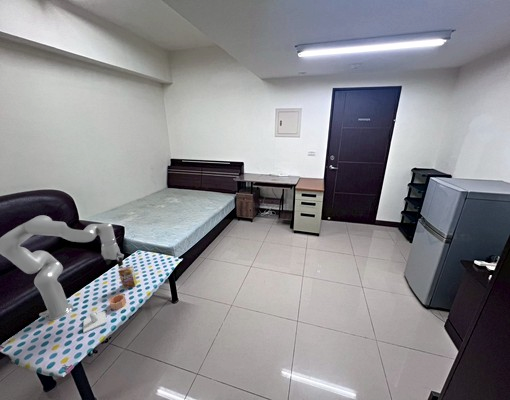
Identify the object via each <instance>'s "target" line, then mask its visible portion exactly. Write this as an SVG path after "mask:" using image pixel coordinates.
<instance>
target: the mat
mask: <svg viewBox="0 0 510 400" xmlns="http://www.w3.org/2000/svg"><path fill="white" fill-rule="evenodd" d="M106 324H107V323H105V324H103V325H101V326H99V327H96V328H94V329H92V330H90V331H87V332H85V333H84V334H87V333H88V332H91V331H93V330H95V329H98V328H100V327H102V326H105V325H106Z"/></svg>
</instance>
